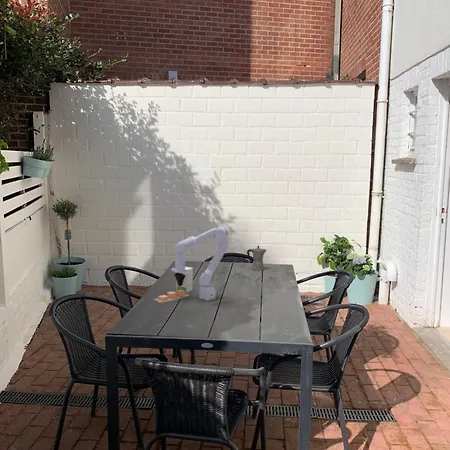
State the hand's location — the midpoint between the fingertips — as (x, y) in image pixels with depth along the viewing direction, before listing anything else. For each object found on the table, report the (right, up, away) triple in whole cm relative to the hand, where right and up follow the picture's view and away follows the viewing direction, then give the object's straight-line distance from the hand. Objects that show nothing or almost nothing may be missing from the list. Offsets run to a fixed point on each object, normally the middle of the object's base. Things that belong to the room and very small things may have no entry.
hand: (180, 285), depth 278 cm
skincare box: (+1, -6, +14) cm, 16 cm away
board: (-4, -8, -3) cm, 10 cm away
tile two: (-4, -7, -3) cm, 9 cm away
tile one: (0, -6, +1) cm, 7 cm away
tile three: (-9, -9, -7) cm, 14 cm away
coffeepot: (+50, +2, +78) cm, 93 cm away
